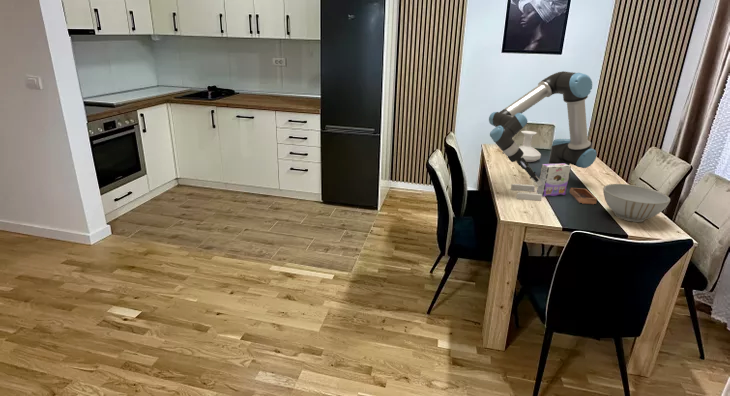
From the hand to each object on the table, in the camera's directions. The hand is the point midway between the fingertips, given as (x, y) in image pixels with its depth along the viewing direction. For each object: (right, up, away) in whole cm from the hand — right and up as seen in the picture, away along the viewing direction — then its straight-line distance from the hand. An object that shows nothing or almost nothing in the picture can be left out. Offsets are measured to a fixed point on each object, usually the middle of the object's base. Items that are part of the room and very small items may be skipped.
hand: (540, 184), depth 223 cm
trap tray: (+22, -7, 0) cm, 23 cm away
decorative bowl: (+33, -16, -22) cm, 43 cm away
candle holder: (+18, +19, +70) cm, 75 cm away
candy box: (+8, -5, +5) cm, 10 cm away
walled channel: (-7, -5, +3) cm, 9 cm away
